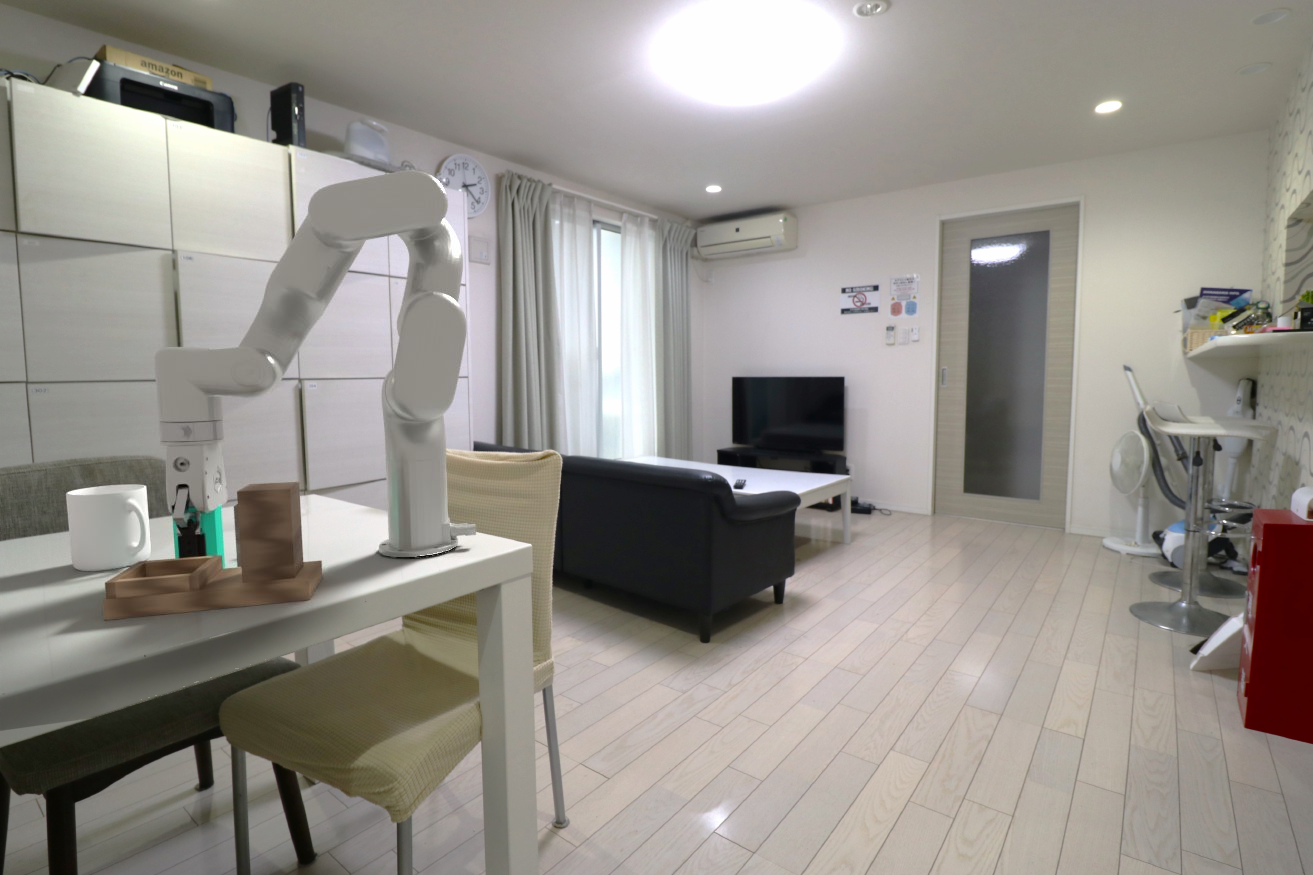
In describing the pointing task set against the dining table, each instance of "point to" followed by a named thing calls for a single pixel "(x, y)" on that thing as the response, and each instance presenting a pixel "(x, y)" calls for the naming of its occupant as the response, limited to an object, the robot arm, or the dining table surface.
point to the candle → (207, 532)
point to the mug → (108, 526)
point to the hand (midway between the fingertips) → (200, 555)
